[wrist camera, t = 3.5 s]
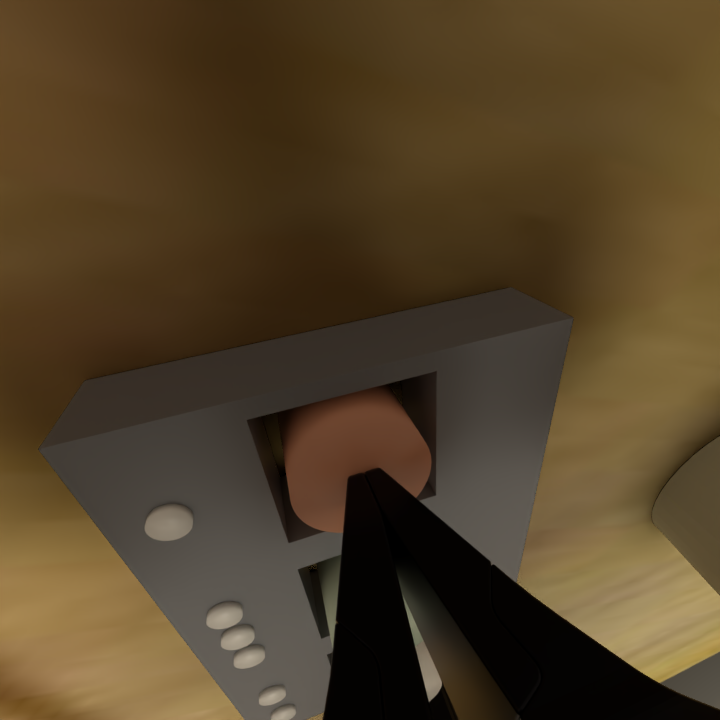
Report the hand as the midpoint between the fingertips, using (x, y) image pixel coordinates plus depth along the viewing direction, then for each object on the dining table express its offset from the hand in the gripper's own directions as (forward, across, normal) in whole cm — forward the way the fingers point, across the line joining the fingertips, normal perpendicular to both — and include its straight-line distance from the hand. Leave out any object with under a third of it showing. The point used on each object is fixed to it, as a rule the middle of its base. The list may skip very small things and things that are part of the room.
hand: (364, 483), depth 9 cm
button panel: (+3, 0, +6) cm, 6 cm away
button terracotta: (+3, 0, 0) cm, 3 cm away
